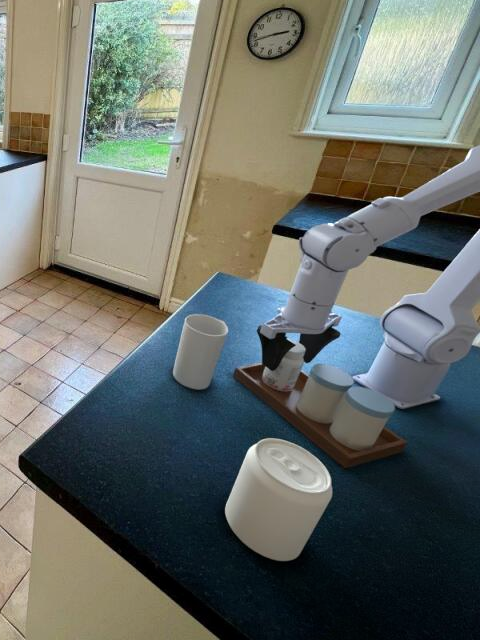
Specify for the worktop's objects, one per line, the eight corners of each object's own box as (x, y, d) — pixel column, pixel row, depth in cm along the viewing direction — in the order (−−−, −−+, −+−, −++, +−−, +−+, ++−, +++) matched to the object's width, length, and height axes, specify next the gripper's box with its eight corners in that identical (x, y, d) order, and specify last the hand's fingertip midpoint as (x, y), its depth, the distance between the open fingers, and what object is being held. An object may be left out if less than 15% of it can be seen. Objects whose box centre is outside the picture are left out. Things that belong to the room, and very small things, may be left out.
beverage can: (271, 576, 47) (308, 509, 42) (209, 513, 54) (234, 448, 49) (315, 546, 50) (353, 480, 45) (250, 489, 57) (278, 426, 52)
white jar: (311, 397, 72) (328, 361, 68) (343, 420, 67) (362, 382, 64) (288, 403, 71) (304, 366, 67) (318, 426, 66) (337, 388, 63)
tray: (280, 366, 80) (283, 357, 79) (401, 452, 62) (408, 442, 62) (232, 376, 78) (235, 367, 77) (345, 468, 60) (350, 458, 59)
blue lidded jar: (345, 421, 67) (365, 383, 64) (381, 448, 62) (404, 408, 59) (320, 428, 66) (339, 389, 62) (355, 455, 61) (377, 415, 58)
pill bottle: (289, 378, 76) (305, 341, 73) (295, 395, 72) (312, 357, 69) (259, 371, 78) (273, 334, 74) (263, 387, 74) (278, 349, 71)
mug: (195, 395, 73) (212, 340, 68) (163, 373, 79) (176, 320, 73) (230, 377, 77) (248, 324, 72) (197, 357, 83) (212, 306, 78)
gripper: (322, 280, 73) (296, 343, 78) (254, 291, 69) (233, 356, 75) (366, 300, 66) (334, 367, 72) (294, 313, 63) (267, 382, 69)
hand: (285, 363), depth 73 cm, fingers open, 7 cm apart
